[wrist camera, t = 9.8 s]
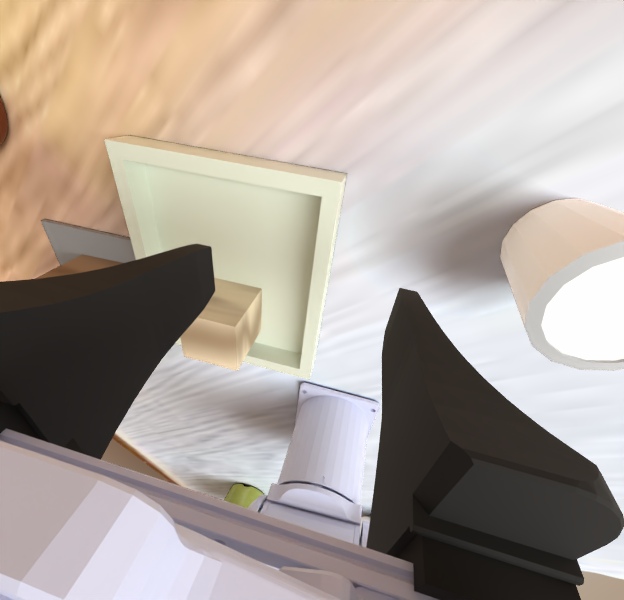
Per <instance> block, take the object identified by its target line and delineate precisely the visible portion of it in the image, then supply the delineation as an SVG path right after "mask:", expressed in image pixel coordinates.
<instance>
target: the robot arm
mask: <svg viewBox="0 0 624 600" xmlns="http://www.w3.org/2000/svg"><path fill="white" fill-rule="evenodd" d="M214 292H215V281H214V270H213V259H212V249H211V247H210V246H206V245H201V244H191V245H187V246H183V247H179V248H175V249H172V250H169V251H165V252H162V253H158V254H155V255H152V256H148V257H145V258H141V259H138V260H134V261H130V262H126V263H123V264H119V265H115V266H111V267H107V268H102V269H98V270H92V271H87V272H82V273H76V274H70V275H62V276H55V277H47V278H40V279H30V280H19V281H6V282H0V600H581V598H580V596H579V593H578V590H577V587H576V585H582V584H583V583H584V577H583V575H582V572H581V569H580V567H579V564H578V561H577V559H578V558H580V557H582V556H584V555H586V554H588V553H590V552H592V551H594V550H597V549H599V548H601V547H603V546H605V545H607V544H609V543H610V542H612V541H613V540H615V539H616V538H617V537H618V536H619V535H620V533H621V531H622V529H623V527H624V518H623V514H622V512H621V510H620V508H619V507H618V505H617V503H616V501H615V499H614V497H613V495H612V493H611V491H610V489H609V488H608V486H607V484H606V482H605V480H604V478H603V476H602V474H601V472H600V471H599V469H598V467H597V466H596V465H595V464H594V463H592V462H591V461H589V460H588V459H586V458H585V457H584V456H582V455H581V454H579V453H578V452H576V451H575V450H573V449H572V448H571V447H569V446H568V445H566V444H565V443H563V442H562V441H560V440H559V439H558V438H556V437H555V436H553V435H552V434H550V433H549V432H548V431H546V430H545V429H544V428H542V427H541V426H540V425H538V424H537V423H536V422H535V421H533V420H532V419H531V418H529V417H528V416H527V415H526V414H524V413H523V412H522V411H521V410H519V409H518V408H517V407H516V406H515V405H513V404H512V403H511V402H510V401H509V400H507V399H506V398H505V397H504V396H503V395H502V394H501V393H500V392H498V391H497V390H496V389H495V388H494V387H493V386H492V385H491V384H490V383H488V382H487V381H486V380H485V379H484V378H483V377H482V376H481V375H480V374H479V373H478V372H477V371H476V370H475V369H474V367H473V366H472V365H471V364H470V363H469V362H468V361H467V360H466V359H465V358H464V357H463V356H462V354H461V353H460V352H459V351H458V350H457V349H456V347H455V346H454V345H453V344H452V342H451V341H450V340H449V339H448V337H447V336H446V335H445V333H444V332H443V331H442V329H441V328H440V326H439V325H438V323H437V322H436V321H435V319H434V318H433V316H432V315H431V313H430V311H429V310H428V308H427V307H426V305H425V304H424V302H423V300H422V299H421V297H420V295H419V294H418V292H416V291H411V290H406V289H402V288H399V291H398V294H397V297H396V300H395V303H394V306H393V309H392V312H391V315H390V318H389V321H388V324H387V327H386V330H385V335H384V342H383V350H382V422H381V432H380V442H379V452H378V460H377V469H376V478H375V486H374V494H373V502H372V510H371V517H370V523H369V522H367V521H363V522H362V527H361V535H360V525H361V514H362V506H361V495H362V484H363V474H364V463H365V453H366V442H367V438H368V435H369V433H370V430H371V428H372V426H373V423H374V421H375V418H376V416H377V413H378V411H379V408H380V404H379V403H378V402H376V401H372V400H368V399H364V398H361V397H357V396H353V395H349V394H346V393H342V392H338V391H335V390H331V389H327V388H323V387H320V386H316V385H312V384H309V383H302V384H301V386H300V391H299V399H298V406H297V413H296V420H295V428H294V432H293V435H292V439H291V442H290V445H289V448H288V451H287V455H286V458H285V461H284V464H283V467H282V471H281V474H280V477H279V480H278V484H273V483H272V484H271V487H270V490H269V493H268V496H267V495H260V496H259V497H258V498H257V499H256V500H255V501H253V502H252V503H251V504H250V506H249V507H248V508H245V507H242V506H239V505H236V504H233V503H230V502H227V501H224V500H221V499H218V498H215V497H212V496H209V495H206V494H202V493H199V492H196V491H193V490H190V489H187V488H184V487H181V486H178V485H175V484H172V483H169V482H166V481H163V480H160V479H157V478H154V477H151V476H148V475H145V474H142V473H139V472H136V471H133V470H130V469H127V468H124V467H121V466H118V465H115V464H112V463H109V462H106V461H103V460H101V458H102V456H103V454H104V452H105V450H106V448H107V447H108V445H109V443H110V441H111V439H112V437H113V436H114V434H115V432H116V430H117V428H118V427H119V425H120V423H121V422H122V420H123V418H124V416H125V415H126V413H127V411H128V410H129V408H130V406H131V405H132V403H133V401H134V400H135V398H136V397H137V395H138V394H139V392H140V390H141V389H142V387H143V386H144V384H145V383H146V381H147V380H148V378H149V377H150V375H151V374H152V372H153V371H154V369H155V368H156V367H157V365H158V364H159V362H160V361H161V359H162V358H163V357H164V356H165V354H166V353H167V352H168V351H169V349H170V348H171V347H172V346H173V345H174V344H175V343H176V341H177V340H178V339H179V338H180V337H181V336H182V335H183V333H184V332H185V331H186V330H187V329H188V328H189V326H190V325H191V324H192V323H193V322H194V321H195V320H196V318H197V317H198V316H199V315H200V314H201V312H202V311H203V310H204V308H205V307H206V305H207V304H208V302H209V301H210V299H211V297H212V296H213V294H214Z"/></svg>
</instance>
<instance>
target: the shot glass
mask: <svg viewBox="0 0 624 600" xmlns="http://www.w3.org/2000/svg"><path fill="white" fill-rule="evenodd" d="M500 258H501V261H502V264H503V267H504V270H505V273H506V275H507V278H508V281H509V284H510V287H511V290H512V292H513V295H514V298H515V301H516V304H517V307H518V310H519V312H520V315H521V318H522V321H523V324H524V327H525V329H526V332H527V334H528V337H529V339H530V342H531V345H532V346H533V347H534V348H535V349H536V350H538V351H539V352H540V353H542V354H543V355H544V356H545V357H547V358H548V359H549V360H551V361H553V362H556V363H560V364H563V365H566V366H569V367H573V368H576V369H581V370H613V371H614V370H619V369H624V213H623V212H621V211H618V210H615V209H612V208H609V207H607V206H604V205H601V204H598V203H595V202H591V201H587V200H583V199H579V198H572V199H563V200H554V201H551V202H549V203H546V204H544V205H542V206H539V207H537V208H535V209H532V210H530V211H529V212H528V213H527V214H525V215H524V216H523V217H522V218H520V219H519V220H518V221H517V222H515V223H514V224H513V225H512V227H511V228H510V230H509V232H508V233H507V235H506V236H505V238H504V239H503V241H502V248H501V254H500Z"/></svg>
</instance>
